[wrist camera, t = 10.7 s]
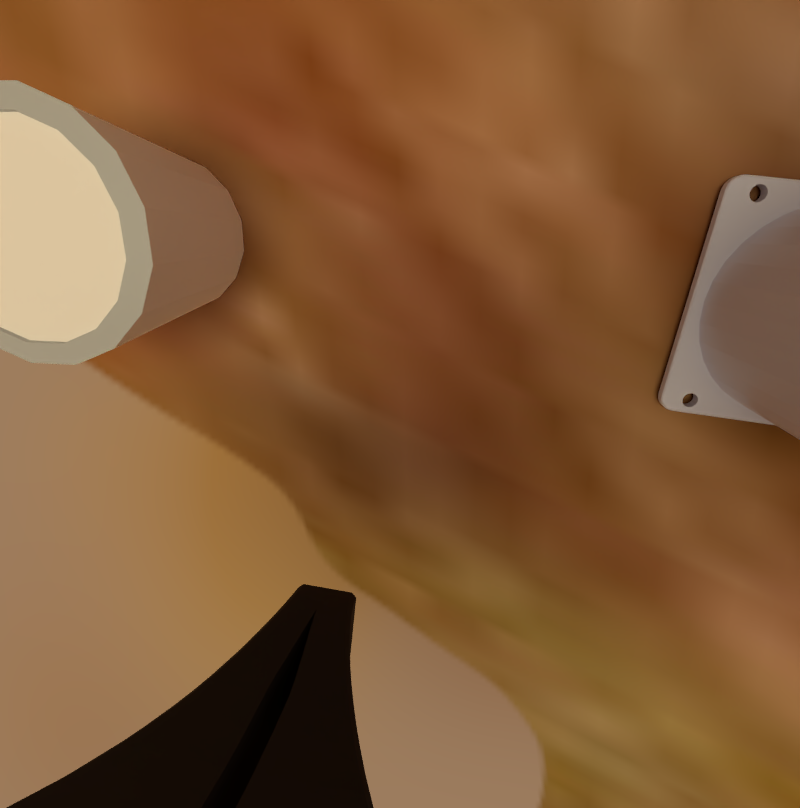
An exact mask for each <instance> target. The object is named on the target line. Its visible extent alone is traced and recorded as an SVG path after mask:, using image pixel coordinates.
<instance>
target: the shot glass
mask: <svg viewBox="0 0 800 808" xmlns="http://www.w3.org/2000/svg"><path fill="white" fill-rule="evenodd" d="M243 253H244V243H243V231H242V220H241V218H240V216H239V213H238V211H237V209H236V207H235V205H234V202H233V200H232V198H231V196H230V194H229V192H228V190H227V189H226V188H225V187H224V186H223V185H222V184H221V183H220V182H219V181H218V180H217V179H216V178H215V177H214V176H213V175H212V173H211V172H210V171H209V170H208V169H207V168H206V167H204V166H201V165H199V164H197V163H195V162H193V161H191V160H188V159H186V158H184V157H182V156H180V155H178V154H175V153H173V152H171V151H169V150H167V149H165V148H162V147H160V146H158V145H156V144H154V143H152V142H150V141H147V140H145V139H143V138H141V137H139V136H137V135H134V134H132V133H130V132H128V131H126V130H124V129H121V128H119V127H117V126H115V125H113V124H111V123H108V122H106V121H104V120H102V119H100V118H98V117H95V116H93V115H91V114H89V113H87V112H85V111H82V110H80V109H78V108H76V107H74V106H72V105H69V104H67V103H65V102H63V101H61V100H59V99H56V98H54V97H52V96H50V95H48V94H45V93H43V92H41V91H39V90H37V89H35V88H32V87H30V86H28V85H26V84H24V83H21V82H19V81H17V80H3V81H0V349H2V350H4V351H6V352H9V353H11V354H13V355H15V356H17V357H20V358H22V359H24V360H27V361H29V362H31V363H49V364H70V365H77V364H79V363H81V362H84V361H86V360H88V359H91V358H93V357H95V356H98V355H100V354H102V353H105V352H107V351H109V350H112V349H114V348H116V347H118V346H120V345H122V344H124V343H126V342H129V341H131V340H133V339H135V338H137V337H139V336H141V335H143V334H145V333H147V332H149V331H151V330H153V329H155V328H157V327H160V326H162V325H164V324H166V323H168V322H170V321H172V320H174V319H176V318H178V317H180V316H182V315H184V314H186V313H188V312H190V311H193V310H195V309H197V308H199V307H201V306H203V305H205V304H207V303H209V302H211V301H213V300H215V299H217V298H219V297H220V296H221V295H222V294H223V293H224V292H225V290H226V289H227V288H228V287H229V286H230V285H231V283H232V282H233V281H234V280H235V279H236V277H237V274H238V270H239V267H240V263H241V260H242V257H243Z"/></svg>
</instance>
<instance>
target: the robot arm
mask: <svg viewBox="0 0 800 808" xmlns="http://www.w3.org/2000/svg"><path fill="white" fill-rule="evenodd" d="M754 186H758V187H759V188H760V190H761V194H760V197H759V198H758V200H756V201H755V202H754V201H752V200H751V199H750V191H751V189H752V188H753V187H754ZM690 393H693V399H692V400H691V401H690V402H689V403H685V404H683V403H682V401H683V398H684V396H685V395H687V394H690ZM658 400H659V402H660V404H662V405H663V406H664V407H665V408H666V409H668V410H671V411H678V412H685V413H692V414H699V415H706V416H713V417H720V418H727V419H735V420H742V421H749V422H756V423H763V424H770V425H776V426H778V427H779V428H781V429H783V430H784V431H786V432H788V433H789V434H791V435H792V436H794V437H796V438H797V439H799V440H800V180H795V179H786V178H776V177H767V176H757V175H748V174H746V175H738V176H734V177H732V178H730V179H729V180H728V181H727V182H726V183H725V184H724V185H723V187H722V189H721V191H720V194H719V197H718V200H717V204H716V207H715V210H714V214H713V217H712V220H711V223H710V227H709V230H708V233H707V236H706V240H705V243H704V246H703V249H702V253H701V256H700V259H699V263H698V266H697V269H696V272H695V276H694V279H693V282H692V285H691V289H690V292H689V295H688V299H687V302H686V305H685V308H684V312H683V315H682V318H681V321H680V325H679V328H678V331H677V334H676V338H675V341H674V344H673V348H672V351H671V354H670V357H669V361H668V364H667V367H666V370H665V374H664V377H663V380H662V383H661V387H660V390H659V393H658ZM355 603H356V597H355V596H354V595H353V594H352V593H350V592H345V591H339V590H333V589H328V588H322V587H317V586H311V585H306V584H303V585H302V586H300V587H299V588H298V589H297V590H296V591H295V593H294V594H293V595H292V596H291V597H290V598H289V599H288V601H287V602H286V603H285V604H284V605H283V606H282V607H281V608H280V610H279V611H278V612H277V613H276V614H275V615H274V616H273V617H272V618H271V619H270V620H269V621H268V622H267V623H266V624H265V625H264V626H263V627H262V628H261V629H260V631H259V632H257V634H255V635H254V636H253V637H252V638H251V640H249V641H248V643H247V644H245V645H244V646H243V647H242V648H241V649H240V650H239V651H238V652H237V653H236V654H235V655H234V656H233V657H231V658H230V659H229V660H228V661H227V662H226V663H225V664H224V665H223V666H221V667H220V668H219V669H218V670H217V671H216V672H215V673H214V674H212V675H211V676H210V677H209V678H208V679H207V680H205V681H204V682H203V683H202V684H201V685H199V686H198V687H197V688H196V689H194V690H193V691H192V692H191V693H189V694H188V695H187V696H186V697H184V698H183V699H182V700H180V701H179V702H178V703H177V704H175V705H174V706H173V707H171V708H170V709H168V710H167V711H166V712H164V713H163V714H161V715H160V716H159V717H157V718H156V719H154V720H153V721H152V722H150V723H149V724H148V725H146V726H145V727H143V728H142V729H140V730H139V731H137V732H136V733H134V734H133V735H131V736H130V737H128V738H127V739H125V740H124V741H122V742H121V743H119V744H118V745H116V746H114V747H113V748H111V749H109V750H108V751H106V752H105V753H103V754H101V755H100V756H98V757H96V758H95V759H93V760H92V761H90V762H88V763H87V764H85V765H83V766H82V767H80V768H79V769H77V770H75V771H74V772H72V773H70V774H69V775H67V776H65V777H63V778H61V779H60V780H58V781H56V782H54V783H52V784H50V785H48V786H46V787H45V788H43V789H41V790H39V791H37V792H35V793H33V794H31V795H30V796H28V797H26V798H24V799H22V800H20V801H18V802H16V803H14V804H13V805H11V806H9V807H7V808H373V804H372V800H371V796H370V792H369V788H368V784H367V780H366V775H365V771H364V765H363V760H362V755H361V750H360V745H359V739H358V733H357V727H356V720H355V713H354V705H353V695H352V686H351V672H350V652H351V642H352V632H353V622H354V613H355Z"/></svg>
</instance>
